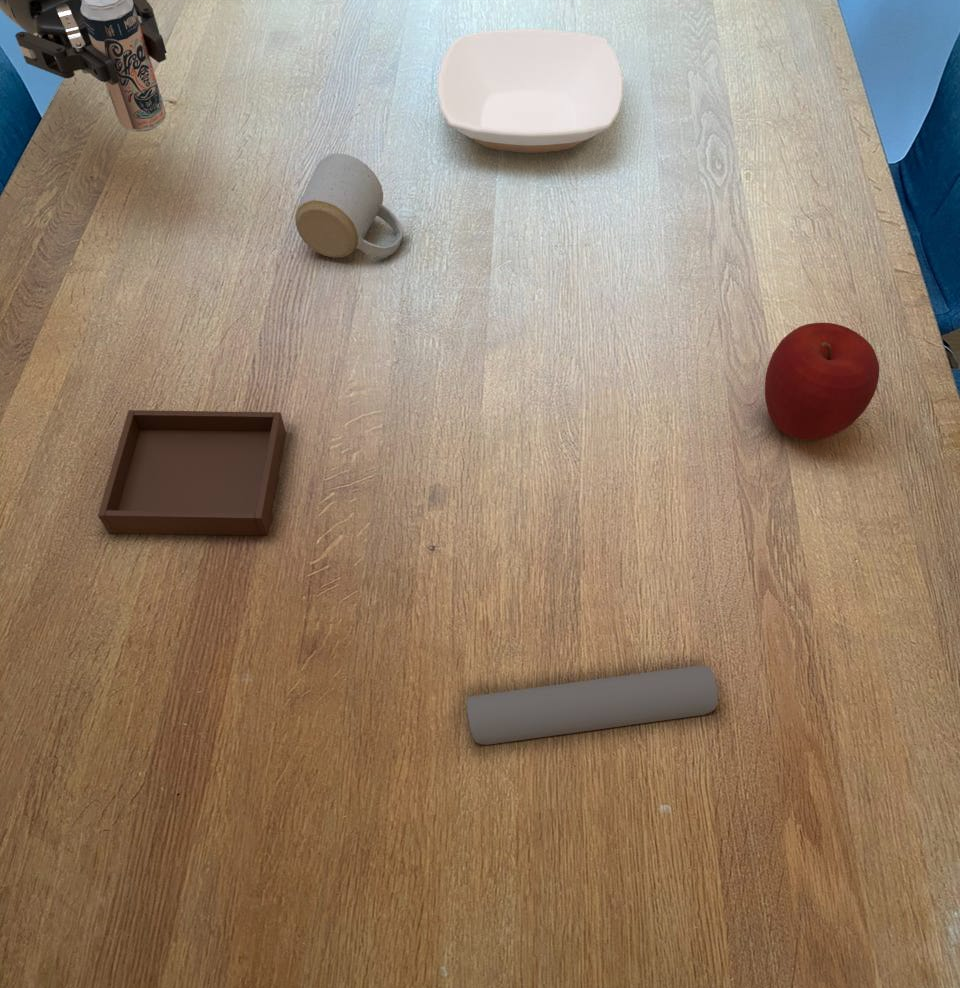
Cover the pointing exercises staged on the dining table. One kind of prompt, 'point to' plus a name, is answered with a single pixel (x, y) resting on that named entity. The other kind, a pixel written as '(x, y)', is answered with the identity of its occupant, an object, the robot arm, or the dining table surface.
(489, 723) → the half round rod
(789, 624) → the dining table surface
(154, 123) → the beer can
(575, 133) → the bowl
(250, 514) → the serving tray
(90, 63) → the robot arm
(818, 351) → the apple
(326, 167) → the ceramic mug
